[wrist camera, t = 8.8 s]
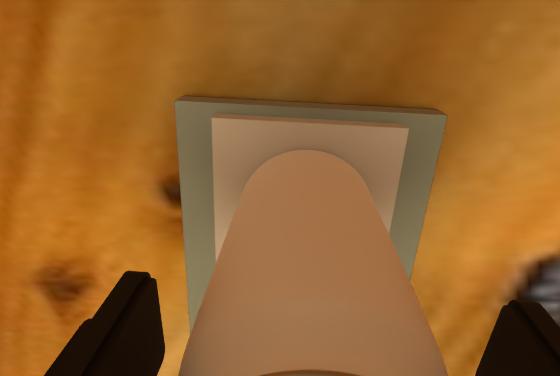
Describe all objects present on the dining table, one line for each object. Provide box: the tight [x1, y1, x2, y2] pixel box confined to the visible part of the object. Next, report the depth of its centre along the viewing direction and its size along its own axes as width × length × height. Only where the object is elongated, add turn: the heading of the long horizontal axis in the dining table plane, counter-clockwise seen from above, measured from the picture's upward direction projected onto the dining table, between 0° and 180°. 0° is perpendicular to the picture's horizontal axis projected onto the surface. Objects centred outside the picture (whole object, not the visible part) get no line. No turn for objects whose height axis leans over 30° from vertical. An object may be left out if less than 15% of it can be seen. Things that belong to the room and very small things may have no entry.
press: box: [174, 96, 448, 334], centre depth 15 cm, size 17×13×16 cm
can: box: [179, 150, 448, 376], centre depth 13 cm, size 6×6×12 cm
